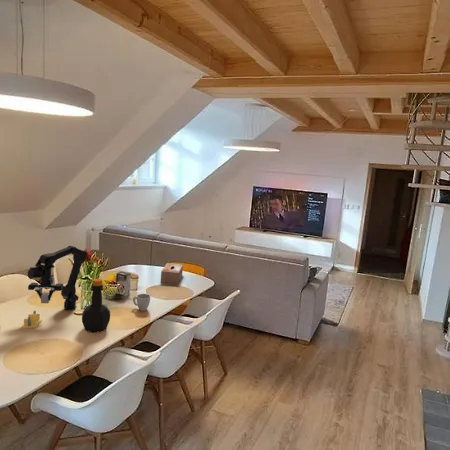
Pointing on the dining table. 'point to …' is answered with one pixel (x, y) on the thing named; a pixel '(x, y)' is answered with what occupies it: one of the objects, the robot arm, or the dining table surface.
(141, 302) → the mug
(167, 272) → the tissue box cover
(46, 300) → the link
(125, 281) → the coffee box
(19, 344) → the dining table surface
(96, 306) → the bottle
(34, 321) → the keeper
